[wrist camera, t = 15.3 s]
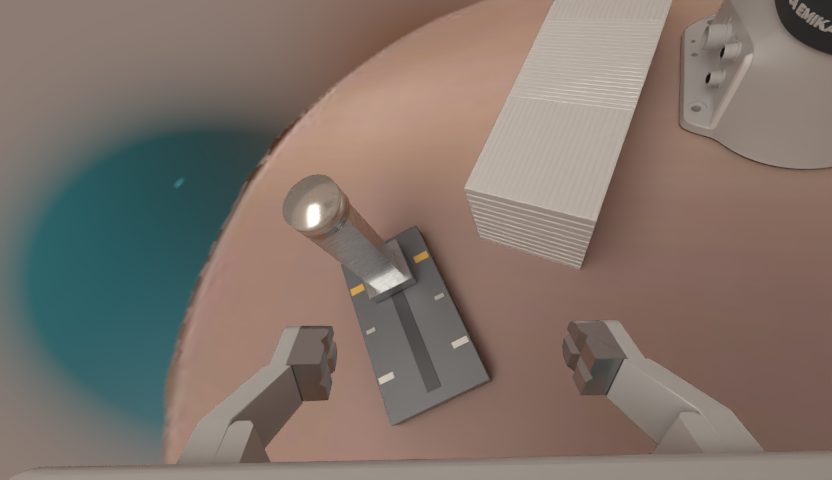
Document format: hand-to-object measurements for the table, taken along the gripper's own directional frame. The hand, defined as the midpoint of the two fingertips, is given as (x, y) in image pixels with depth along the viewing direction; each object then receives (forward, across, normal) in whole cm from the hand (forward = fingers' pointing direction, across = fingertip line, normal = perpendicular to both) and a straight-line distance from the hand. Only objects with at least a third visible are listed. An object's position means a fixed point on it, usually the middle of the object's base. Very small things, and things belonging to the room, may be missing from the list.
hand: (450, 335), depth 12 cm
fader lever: (+22, +4, +14) cm, 26 cm away
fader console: (+19, +2, +18) cm, 26 cm away
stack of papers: (+33, -18, +3) cm, 38 cm away
